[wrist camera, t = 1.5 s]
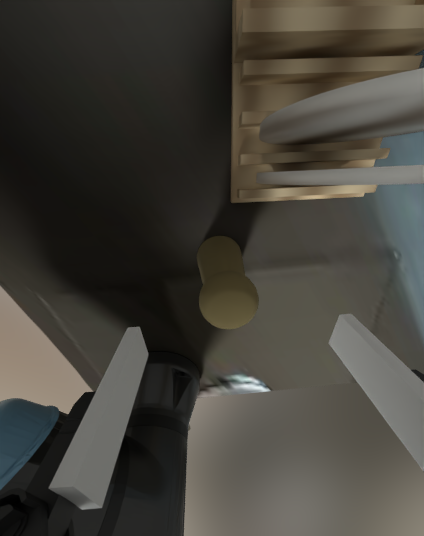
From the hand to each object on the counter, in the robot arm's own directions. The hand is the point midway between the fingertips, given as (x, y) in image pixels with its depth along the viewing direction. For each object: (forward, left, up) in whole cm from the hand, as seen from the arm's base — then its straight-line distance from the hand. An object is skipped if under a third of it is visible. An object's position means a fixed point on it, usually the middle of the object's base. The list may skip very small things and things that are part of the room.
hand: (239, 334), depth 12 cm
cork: (0, 0, -14) cm, 14 cm away
